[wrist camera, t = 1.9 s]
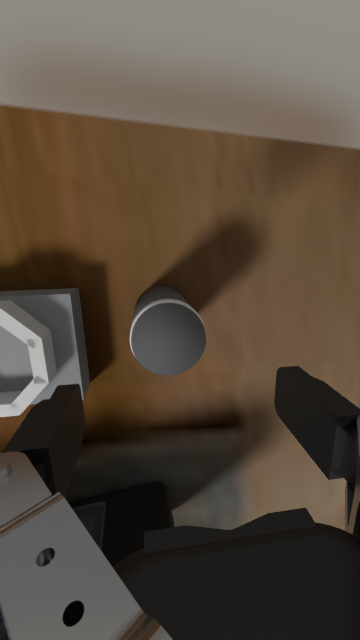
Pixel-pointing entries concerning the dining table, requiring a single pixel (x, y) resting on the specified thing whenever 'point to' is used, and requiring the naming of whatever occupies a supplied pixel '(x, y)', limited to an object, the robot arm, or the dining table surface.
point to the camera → (121, 522)
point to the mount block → (40, 346)
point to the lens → (166, 332)
